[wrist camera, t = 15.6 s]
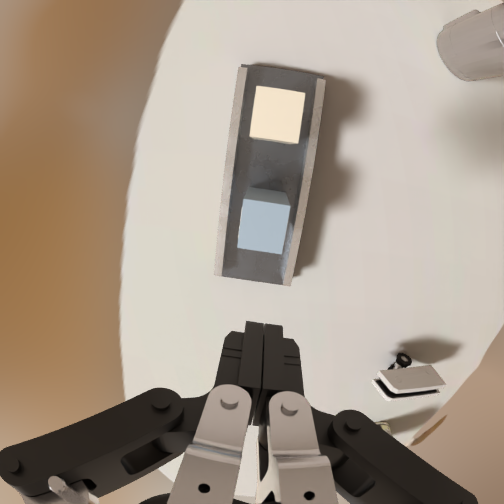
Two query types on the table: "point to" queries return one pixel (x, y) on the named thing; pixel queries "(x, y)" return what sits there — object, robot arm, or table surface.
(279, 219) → the block
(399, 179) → the table surface
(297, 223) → the tray
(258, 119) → the block
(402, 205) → the table surface
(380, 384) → the grey wheeled device
